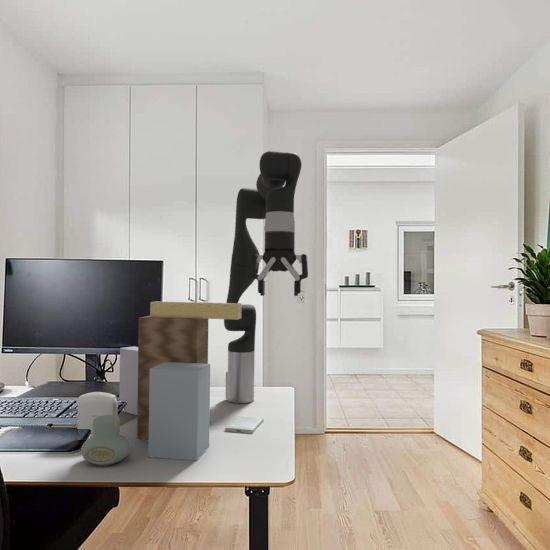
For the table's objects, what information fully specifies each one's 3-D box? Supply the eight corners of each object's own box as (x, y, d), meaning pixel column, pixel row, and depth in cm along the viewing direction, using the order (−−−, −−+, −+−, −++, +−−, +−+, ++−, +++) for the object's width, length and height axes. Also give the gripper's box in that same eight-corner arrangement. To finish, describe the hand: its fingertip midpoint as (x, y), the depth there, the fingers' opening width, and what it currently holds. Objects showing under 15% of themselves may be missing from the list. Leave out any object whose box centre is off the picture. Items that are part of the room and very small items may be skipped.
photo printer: (74, 442, 134) (75, 394, 134) (80, 436, 139) (81, 390, 139) (114, 442, 134) (114, 394, 134) (119, 437, 138) (120, 391, 138)
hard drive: (237, 415, 157) (224, 427, 145) (263, 417, 156) (253, 429, 144) (237, 421, 157) (224, 433, 145) (263, 423, 156) (253, 435, 144)
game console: (177, 427, 149) (178, 357, 149) (118, 410, 165) (119, 348, 165) (191, 422, 153) (192, 355, 153) (133, 407, 170) (134, 346, 170)
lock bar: (150, 317, 139) (150, 302, 139) (155, 315, 143) (156, 301, 143) (237, 319, 135) (238, 304, 135) (241, 318, 139) (241, 303, 139)
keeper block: (148, 457, 124) (149, 368, 124) (163, 443, 134) (165, 361, 134) (197, 460, 122) (198, 370, 122) (209, 446, 132) (210, 363, 132)
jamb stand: (136, 439, 137) (138, 317, 137) (151, 428, 146) (153, 314, 146) (195, 443, 134) (197, 319, 134) (206, 432, 144) (208, 316, 144)
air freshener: (134, 455, 125) (134, 413, 125) (125, 468, 117) (125, 423, 117) (88, 455, 125) (89, 413, 125) (76, 467, 117) (76, 423, 117)
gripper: (309, 232, 133) (308, 295, 133) (254, 232, 136) (254, 295, 136) (306, 229, 126) (305, 296, 126) (248, 229, 128) (248, 295, 128)
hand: (279, 295), depth 131 cm, fingers open, 8 cm apart
